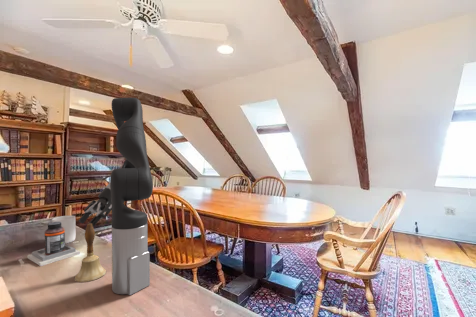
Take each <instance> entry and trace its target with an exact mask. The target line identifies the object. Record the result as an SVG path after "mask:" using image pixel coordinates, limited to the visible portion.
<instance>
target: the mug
mask: <svg viewBox="0 0 476 317" xmlns="http://www.w3.org/2000/svg"><path fill="white" fill-rule="evenodd" d="M51 222H61V226H62V227H63V228H64V229H65V244H70V243H72V242H74V241H75V240H76V236H77V235H76V231H77V230H76V227H77V226H76V224H77V223H76V215H62V216H55V217H53V218H52V219H51Z"/></svg>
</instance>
